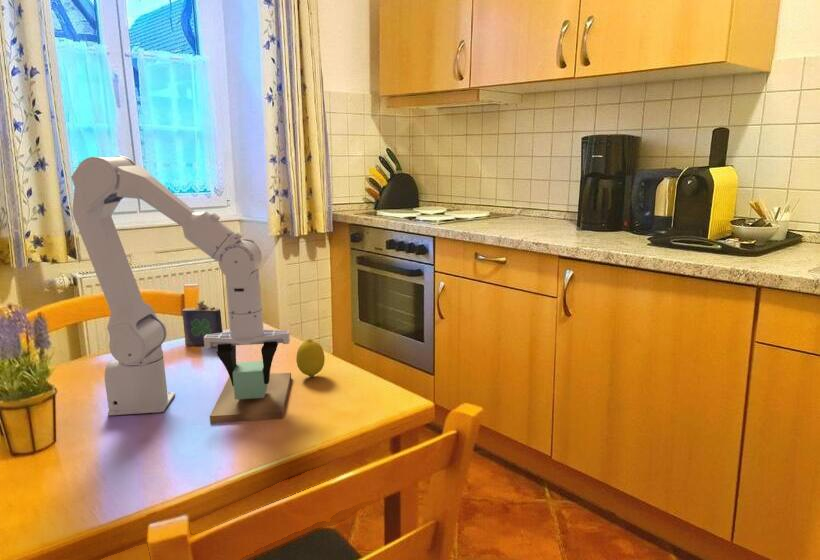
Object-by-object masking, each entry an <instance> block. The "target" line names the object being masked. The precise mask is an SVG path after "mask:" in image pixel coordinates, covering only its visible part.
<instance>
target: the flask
mask: <svg viewBox="0 0 820 560" xmlns="http://www.w3.org/2000/svg"><path fill="white" fill-rule="evenodd" d="M204 303H205V300H202V301H198V302H196V305H197V306H198V307H188V308H187V307H186V308H183V309H182V311H181V315H182V322H183V332H184V343H185V346H186V347H188V348H194V347H195V348H196V347H197V348H205V347H204V337H205V335H206V334H216V333H223V332H224V331H223V326H222V325H223V324H222V323H223V322H222V315H221V313H222V312H221V309H220V308H219V307H215V306H212V307H210V306H208V305H207V304H204ZM212 348H218V346H213V347H212Z"/></svg>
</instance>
